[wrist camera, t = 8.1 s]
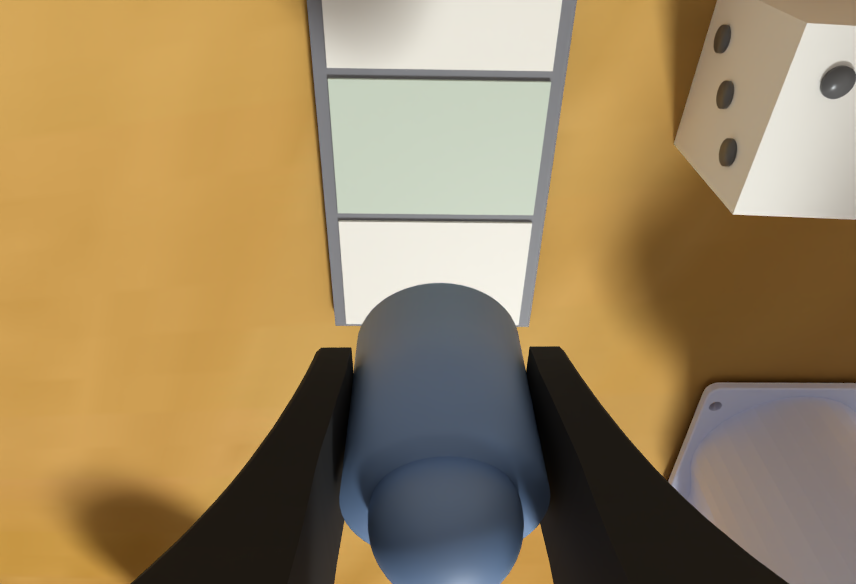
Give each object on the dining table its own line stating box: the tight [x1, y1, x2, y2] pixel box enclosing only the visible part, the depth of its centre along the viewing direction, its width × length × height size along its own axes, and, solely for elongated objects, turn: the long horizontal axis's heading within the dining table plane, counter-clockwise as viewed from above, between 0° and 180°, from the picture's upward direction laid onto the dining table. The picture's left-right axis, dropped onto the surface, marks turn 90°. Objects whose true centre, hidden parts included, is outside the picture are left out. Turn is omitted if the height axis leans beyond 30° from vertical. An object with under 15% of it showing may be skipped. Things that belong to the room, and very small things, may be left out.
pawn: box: [339, 283, 550, 584], centre depth 12 cm, size 4×4×6 cm
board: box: [307, 0, 577, 327], centre depth 17 cm, size 18×7×1 cm, turn 179°
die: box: [674, 0, 856, 220], centre depth 16 cm, size 4×5×5 cm
